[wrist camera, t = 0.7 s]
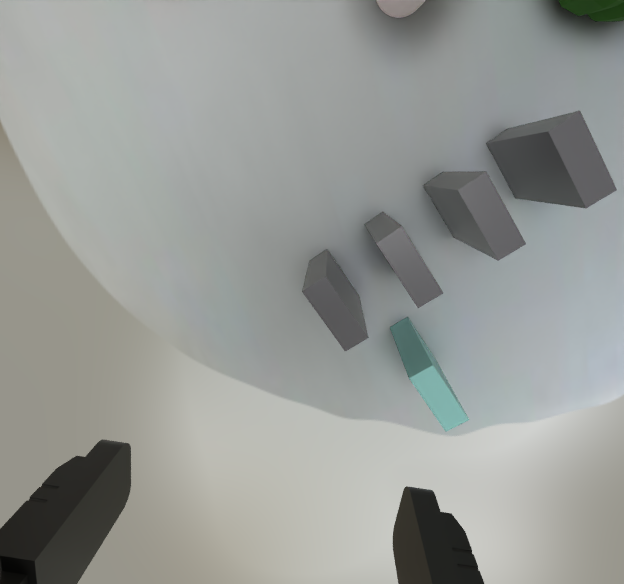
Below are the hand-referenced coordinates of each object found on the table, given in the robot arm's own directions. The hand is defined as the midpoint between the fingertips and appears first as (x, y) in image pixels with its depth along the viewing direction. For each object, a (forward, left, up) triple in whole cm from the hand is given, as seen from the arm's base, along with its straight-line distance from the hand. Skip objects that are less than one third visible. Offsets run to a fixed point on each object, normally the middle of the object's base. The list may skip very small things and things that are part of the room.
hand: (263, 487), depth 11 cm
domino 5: (-18, +1, -24) cm, 30 cm away
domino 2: (-7, +1, -24) cm, 25 cm away
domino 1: (-2, +1, -24) cm, 24 cm away
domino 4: (-13, +1, -24) cm, 27 cm away
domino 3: (-4, +10, -24) cm, 26 cm away
